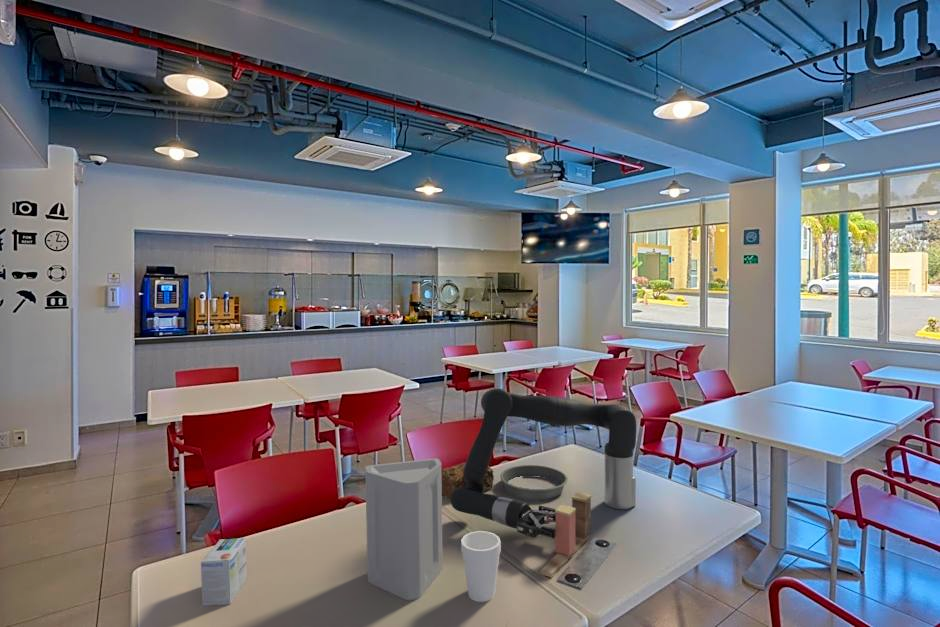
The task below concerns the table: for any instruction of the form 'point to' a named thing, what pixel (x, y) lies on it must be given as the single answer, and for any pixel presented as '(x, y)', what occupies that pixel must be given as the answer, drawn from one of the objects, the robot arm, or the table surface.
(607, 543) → the flange plate
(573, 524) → the sliding leg
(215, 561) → the light bulb box
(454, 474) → the bread
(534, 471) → the cake pan
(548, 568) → the rail
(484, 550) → the foam cup
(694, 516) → the table surface
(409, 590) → the triangular storage bin
